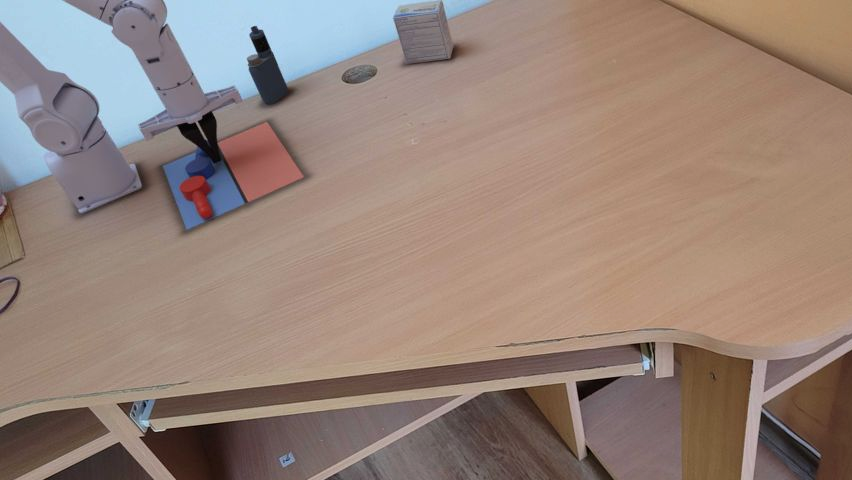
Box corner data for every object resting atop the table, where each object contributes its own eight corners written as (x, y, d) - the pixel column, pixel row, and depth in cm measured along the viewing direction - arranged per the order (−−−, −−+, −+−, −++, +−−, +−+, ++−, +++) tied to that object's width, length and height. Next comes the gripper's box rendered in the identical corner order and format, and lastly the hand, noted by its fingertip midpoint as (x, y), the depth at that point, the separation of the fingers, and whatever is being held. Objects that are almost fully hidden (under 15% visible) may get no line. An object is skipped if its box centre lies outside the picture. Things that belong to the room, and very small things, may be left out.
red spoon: (222, 214, 99) (216, 204, 98) (196, 226, 98) (190, 216, 97) (207, 181, 106) (202, 172, 105) (183, 192, 105) (177, 182, 104)
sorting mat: (187, 230, 98) (186, 229, 98) (163, 167, 112) (162, 165, 112) (304, 177, 103) (303, 176, 103) (267, 122, 116) (266, 121, 116)
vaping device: (292, 90, 123) (264, 24, 114) (271, 106, 120) (241, 40, 112) (282, 88, 124) (253, 23, 116) (261, 104, 121) (230, 38, 113)
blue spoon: (194, 149, 114) (189, 140, 112) (218, 143, 114) (213, 133, 113) (189, 184, 106) (183, 175, 105) (214, 177, 107) (209, 168, 105)
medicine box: (454, 47, 124) (442, -2, 118) (450, 60, 121) (438, 10, 115) (410, 52, 125) (397, 4, 119) (406, 65, 122) (392, 16, 116)
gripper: (125, 111, 95) (175, 191, 104) (229, 69, 98) (268, 150, 108) (119, 91, 100) (167, 170, 109) (218, 52, 103) (256, 132, 113)
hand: (216, 159), depth 109 cm, fingers closed
